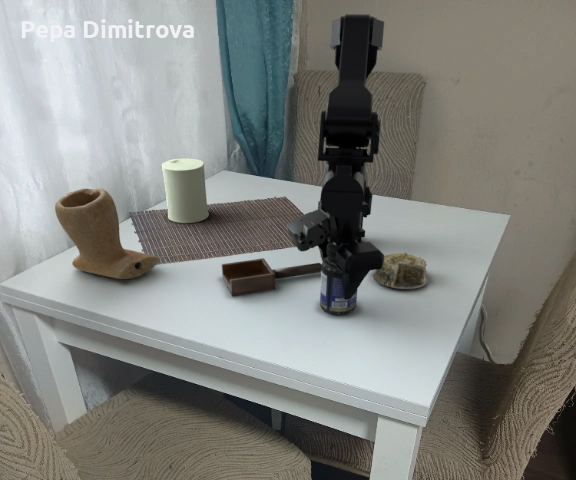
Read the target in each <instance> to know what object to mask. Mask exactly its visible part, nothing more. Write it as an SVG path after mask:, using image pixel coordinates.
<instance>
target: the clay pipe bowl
mask: <svg viewBox="0 0 576 480" xmlns="http://www.w3.org/2000/svg"><path fill="white" fill-rule="evenodd" d="M54 212H55V216H56V218H57V220H58V222H59V224H60V226H61V228H62V229H63V230H64V232H65V233H66V235H67V236H68V237H69V239H70V240H71V242H73V244H74V245H75V246H76V249H77V250H78V253H79V255H77V256H76V257H75V258H74V259H73V261H72V262H71V265H72V266H73V268H75V269H77V270H79V271H82V272H85V273H89V274H92V275H93V274H94V275H97V276H103V277H107V278H112V279H118V280H128V279H135V278H139V277H141V276H143V275H145V274H147V273H148V272H149V271H150V270H152V269H153V268H154V267H156V265H157V264H158V263H159V261H160V258H159V256H156V255H153V254H148V253H144V252H140V251H137V250H132V249H127V248H124V247H123V246H122V243H121V235H120V219H119V214H118V211H117V206H116V204H115V200H114V199H113V197H112V195H111V194H110V193H109V192H108V191H107V190H106V189H104V188H102V187H96V188H94V189H93V188H80V189H76V190H73V191H71V192H68V193H66V194H65V195H63V196H61V197H60V198H58V199H57V200H56V202H55V206H54Z"/></svg>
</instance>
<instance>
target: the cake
mask: <svg viewBox="0 0 576 480" xmlns="http://www.w3.org/2000/svg"><path fill="white" fill-rule="evenodd" d="M427 265H428V264H427V261H426V260H425V259H424V258H421V257H420V256H417V255H413V254H408V253H407V252H404V253H403V252H402V253H389V254H386V255H384V264H383V268H382V269H377V270H374V271H375V272H374V273H373V279H374V281H375V282H377V283H378V284H379V285H382V286H385V287H388V288H393V289H400V290H412V289H417V288H421V287H424V286H426V284H428V283H429V282H428V281H429V279H428V277H427V276H426V275H427V272H428V271H427Z"/></svg>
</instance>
